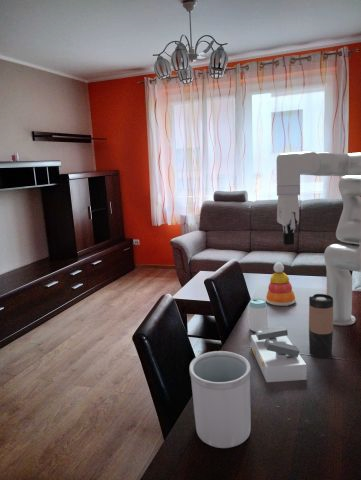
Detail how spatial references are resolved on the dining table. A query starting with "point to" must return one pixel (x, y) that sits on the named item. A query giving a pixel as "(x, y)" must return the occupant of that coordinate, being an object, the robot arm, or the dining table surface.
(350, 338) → the dining table surface
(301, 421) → the dining table surface
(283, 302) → the stacking toy
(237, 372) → the utensil holder
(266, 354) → the switch housing
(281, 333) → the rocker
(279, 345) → the block
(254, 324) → the can
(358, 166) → the robot arm
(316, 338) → the travel mug
